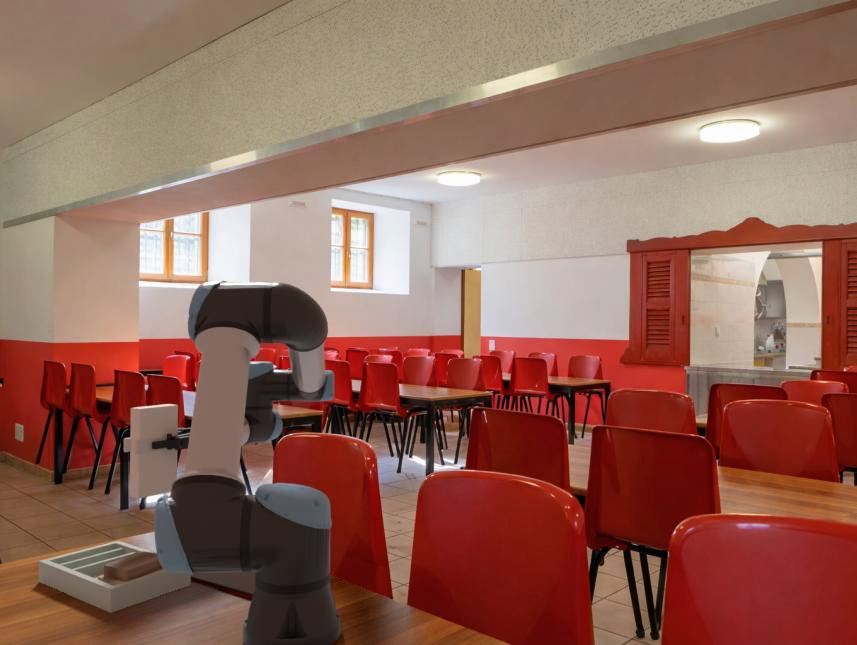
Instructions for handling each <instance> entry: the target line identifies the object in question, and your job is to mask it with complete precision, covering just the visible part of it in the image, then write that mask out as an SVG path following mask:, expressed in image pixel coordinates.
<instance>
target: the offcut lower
mask: <svg viewBox="0 0 857 645" xmlns="http://www.w3.org/2000/svg"><path fill="white" fill-rule="evenodd" d="M162 570H164V569H160V570H158V571H155V572H152V573H150V574H153V573H156V572H159V571H162ZM147 575H149V574H147ZM144 576H146V575H144ZM142 577H143V576H142ZM139 578H140V577H139ZM98 580H100V581H103V582H105V583H108V584H110V585H113V586H114V585H117V584H120V583H124V582H125V581H121V580H117V579H113V578H109V577H105V576H104V575H101V576H98Z"/></svg>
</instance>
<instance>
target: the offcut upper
mask: <svg viewBox="0 0 857 645" xmlns="http://www.w3.org/2000/svg"><path fill="white" fill-rule="evenodd" d="M155 553H156V552H155ZM155 553H150V552H146V551H144V552H141V553H138V554H135V555H132V556H129V557H126V558H123V559H120V560H117V561H114V562H111V563H108V564H106V565H104V576H105V577H109V578H113V579H117V580H121V581H125V582H127V581H130V580H133V579H136V578H139V577H142V576H144V575H147V574H150V573H152V572H155V571H158V570H160V569H163V568H162V566H161V564H160V562H159V559H158V556H157V554H155Z"/></svg>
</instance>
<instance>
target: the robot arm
mask: <svg viewBox="0 0 857 645" xmlns="http://www.w3.org/2000/svg"><path fill="white" fill-rule="evenodd" d="M187 332H188V337H189V339H190V341H192V342H193V343H194V346H195V349H196V350H197V352H199V353H200V354H201V357H200V365H199V371H198V377H197V378H198V380H197V383H196V385H197V386H196V391H195V392H196V393H195V399H194V404H193V411H192V412H193V413H192V417H191V418H192V419H191V424H190V427H187V428H186V427H183V426H180V427H178V435H176V436H172V434H168V433H167V440H165V436H161V437H154V438H148V439H141V440H135V454H142V453H148V452H154V451H160V450H165V448H167V449H168V450H171V449H175V450H177V451H180V450H187V451H186V459H185V465H184V472H183V474H181V475H180V476H179V477H178V476H177V479H176V480H175V481H174V482H173V484H172V489H171V492H170V495H168V494H165V495H163V496H160V497H159V498H158V499H157V502H156V503H155V504H156V505H155V509H154V520H153V522H154V528H153V531H154V543H155V549H156V550H155V551H156V553H157V556H158V559H159V562H160V564H161V566H162V568H163V569H164V570H165V571H167V572H170V573H189V574H191V575H194V573H226V572H255V591H254V594H253V597H252V599H250V600H251V601H250V604H249V608H248V614H247V616H246V617H245V619H244V620H243V627H242V641H243V644H244V645H334V644H335V643H336V642H337V641H338V640H339V639H340V637H341V617H340V614H339V611H338V610H337V606H336V605H337V604H336V601H335V598H334V594H333V590H332V588H331V528H332V525H333V521H332V518H331V516H332V515H331V502H330V499H329V497H328V496H327V495H326V494H325V493H324V492H323V491H321V490H318V489H316V488H314V487H311V486H307V485H303V484H296V483H288V482H275V483H264V484H262V485H261V484H260V485H259V486H258V487H257V489H256V491H255V493H254V494H247V485H246V484H245V482H244V481H242V480H241V478H239V473H240V472H239V470H240V463H241V462H240V460H241V453H242V452H241V451H242V446H246V445H248V446H249V445H253V444H262V443H266V442H270V441H273V440H275V439H277V438H278V437H280V435H281V434H282V431H283V426H284V423H283V420H282V418H281V417H282V415H281V414H280V413H279V412H278V411H277V410H275V409H274V405H273V404H274V402H317V403H320V402H330V401H332V400H333V399H334V398H335V373H334V371H333V370H332V369H331V370H329V369H327V370H326V360H325V344H324V343H325V342H326V340H327V338H328V334H329V326H328V319H327V315H326V314H325V312H324V309H323V308H322V307H321V306H320V304H319V303H318V302H317V300H315V299H314V298H313V297H312V296H311V295H309V293H308V292H306V291H304V290H302V289H301V288H299V287H296V286H294V285H292V284H288V283H285V282H255V281H253V282H252V281H251V282H250V281H245V282H243V281H237V282H236V281H226V280H219V281H207V282H204V283H201V284H200V285H199V286H198V287H197V288H195V291H194V292H193V295H192V296H191V301H190V303H189V309H188V318H187ZM261 344H284V345H285V346H286V347H287V352H288V357H289V363H290V368H291V369H279V368H278V369H275V368H274V363H273V362H272V361H262V360H261V361H258V360H254V361H251V360H252V359H254V358H255V357H257V356H258V354H259V353H260V351H261ZM123 452H124V453H130V437H125V438H123Z"/></svg>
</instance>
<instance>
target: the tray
mask: <svg viewBox="0 0 857 645" xmlns="http://www.w3.org/2000/svg"><path fill="white" fill-rule="evenodd" d="M144 551H146V552H150V553H155V554H157V552H155V551H153V550H152V551H151V550H148V549H145V548H142V547H139V546H135V545H133V544H130V543H127V542H124V541H121V540H115V541H110V542H108V543H104V544H100V545H95V546H93V547H87V548H84V549H83V548H82V549H80V550H76V551H72V552H69V553H65V554H60V555H56V556H53V557H49V558H45V559H42V560H39V561H38V583H40V584H42V585H44V584H45V586H46V587H49V586H50V587H49V588H51V587H52V588H51V589H54V588H55V589H54V590H56V589H57V591H58V590H59V591H58V592H61V593H63V592H64V593H63V594H65V593H66V594H65V595H68V596H70V597H72V598H75V599H76V600H80V601H82V602H84V603H87V604H89V605H91V606H93V607H96V608H98V609H100V610H103V611H105V612H107V613H109V614H111V613H114V612H118V611H119V610H123V609H126V608H128V607H132V606H135V605H137V604H141V603H144V602H146V601H149V600H152V599H155V598H158V597H161V596H164V595H166V593H167V594H170V593H173V592H175V590H176V591H178V589H179V590H182V589H184V588H187V587H189V586H192V585H191V582H192V581H191V574H189V573H170V572H167V571H165V570H162V571H159V572H156V573H153V574H149V575H146V576H143V577H140V578H136V579H133V580H130V581H127V582H124V583H120V584H117V585H114V586H113V585H110V584H108V583H105V582H103V581H100V580H98V576H101V575H104V565H106V564H108V563H111V562H114V561H117V560H120V559H123V558H126V557H129V556H132V555H135V554H138V553H141V552H144ZM172 591H173V592H172ZM169 592H170V593H169ZM163 594H164V595H163ZM160 595H161V596H160Z"/></svg>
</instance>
